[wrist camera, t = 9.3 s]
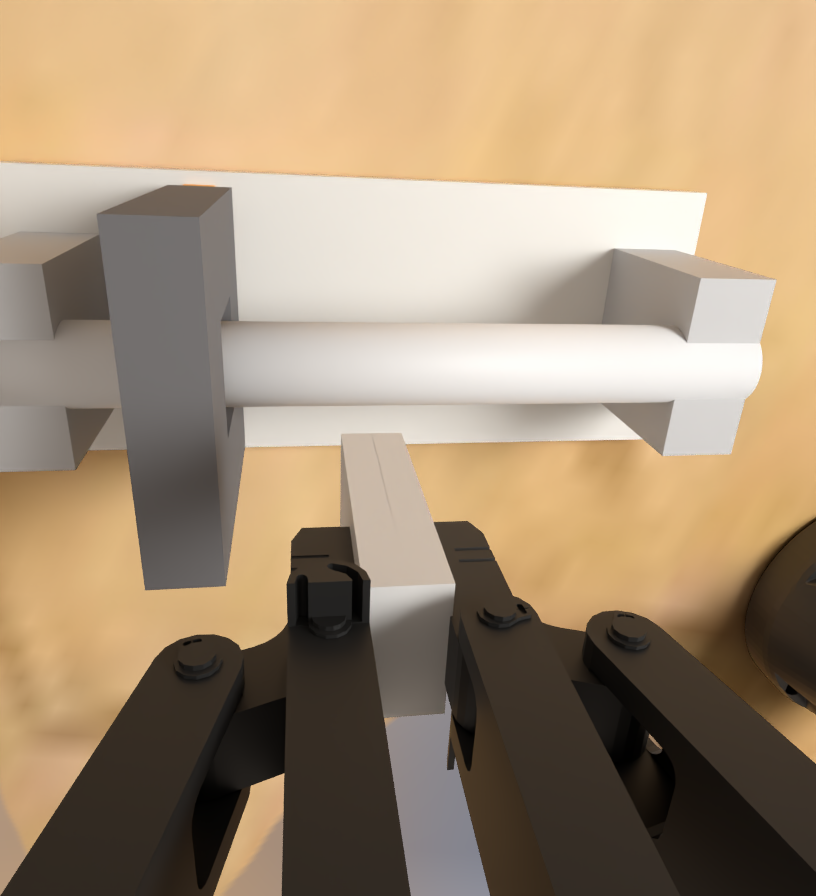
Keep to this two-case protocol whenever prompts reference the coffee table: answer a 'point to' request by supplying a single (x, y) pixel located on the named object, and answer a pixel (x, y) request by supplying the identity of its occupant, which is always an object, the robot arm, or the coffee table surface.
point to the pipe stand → (394, 313)
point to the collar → (176, 376)
